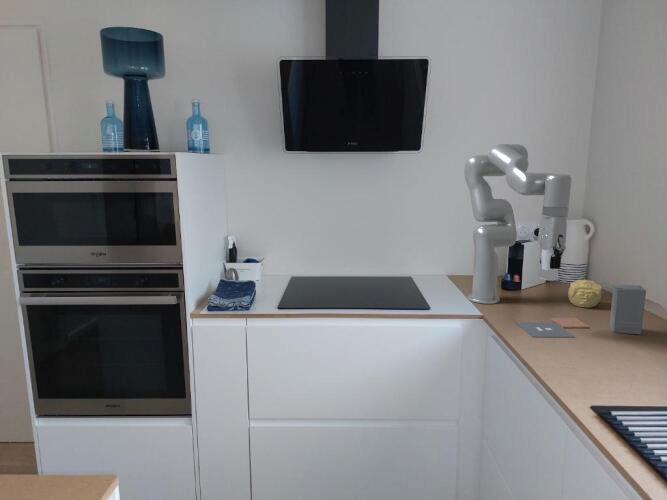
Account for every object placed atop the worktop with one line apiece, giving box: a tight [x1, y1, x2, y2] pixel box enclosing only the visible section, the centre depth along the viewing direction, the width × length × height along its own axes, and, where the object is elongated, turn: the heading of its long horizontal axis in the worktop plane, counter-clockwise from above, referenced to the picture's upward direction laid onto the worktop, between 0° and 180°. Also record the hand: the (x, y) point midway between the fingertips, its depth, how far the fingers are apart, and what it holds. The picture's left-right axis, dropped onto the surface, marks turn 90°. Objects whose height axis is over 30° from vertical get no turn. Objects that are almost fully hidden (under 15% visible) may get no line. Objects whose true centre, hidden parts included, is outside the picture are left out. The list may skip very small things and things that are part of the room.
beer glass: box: [538, 234, 563, 282], centre depth 149 cm, size 7×7×15 cm
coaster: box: [550, 317, 590, 329], centre depth 160 cm, size 9×9×1 cm
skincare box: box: [609, 283, 647, 335], centre depth 152 cm, size 8×7×16 cm
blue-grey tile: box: [515, 321, 576, 338], centre depth 154 cm, size 14×14×1 cm
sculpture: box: [567, 279, 603, 309], centre depth 181 cm, size 12×12×11 cm
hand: (549, 265), depth 150 cm, fingers closed on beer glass, 6 cm apart
